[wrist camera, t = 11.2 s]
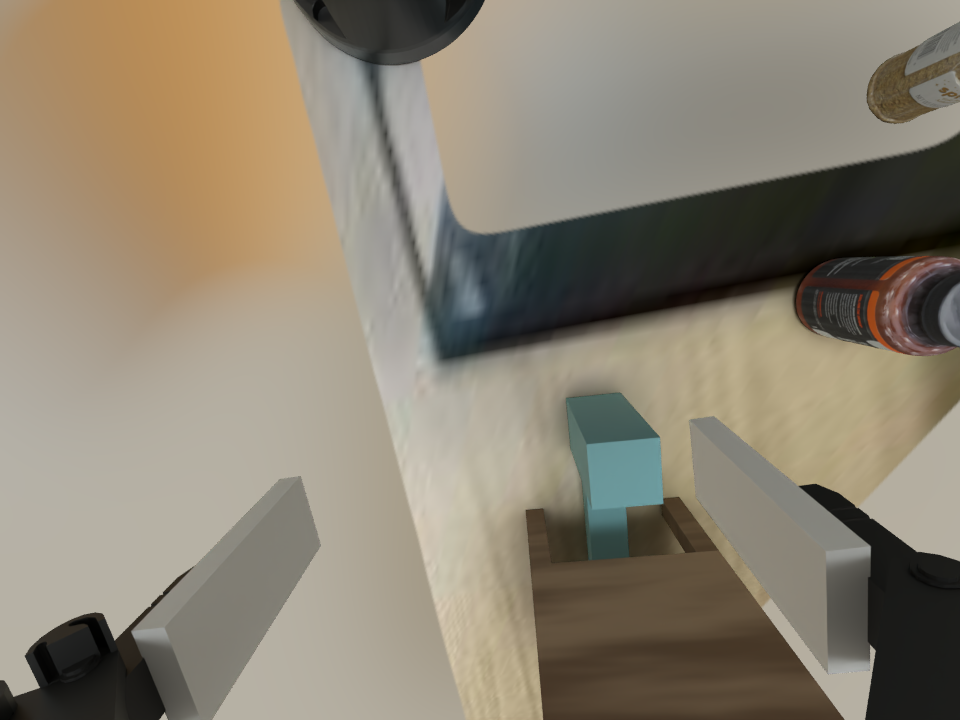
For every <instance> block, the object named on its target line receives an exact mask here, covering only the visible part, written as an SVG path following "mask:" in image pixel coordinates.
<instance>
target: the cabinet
mask: <svg viewBox="0 0 960 720" xmlns="http://www.w3.org/2000/svg"><path fill="white" fill-rule="evenodd" d="M661 506H662V516H663V517H664V519H665V521H666V522H667V524H668V525H669V527H670V529H671V530H672V532H673V533H674V535H675V537H676V538H677V540H678V542H679V543H680V545H681V546H682V548H683V550H684V551H685V553H680V554H666V555H653V556H640V557H627V558H613V559H600V560H587V561H574V562H560V563H551V557H550V550H549V544H548V537H547V531H546V524H545V518H544V511H543V509H535V510H526V519H527V531H528V543H529V555H530V567H531V578H532V590H533V602H534V614H535V626H536V638H537V650H538V662H539V673H540V685H541V697H542V709H543V720H844V718H843V717H842V716H841V715H840V713H839V712H838V710H837V709H836V708H835V706H834V705H833V704H832V702H831V701H830V700H829V698H828V697H827V696H826V694H825V693H824V691H823V690H822V689H821V687H820V686H819V685H818V683H817V682H816V681H815V680H814V678H813V677H812V676H811V674H810V673H809V671H808V670H807V669H806V667H805V666H804V665H803V663H802V662H801V661H800V659H799V658H798V657H797V655H796V654H795V652H794V651H793V650H792V649H791V647H790V646H789V644H788V643H787V642H786V640H785V639H784V638H783V636H782V635H781V634H780V633H779V631H778V630H777V628H776V627H775V626H774V624H773V623H772V622H771V620H770V619H769V617H768V616H767V615H766V613H765V612H764V611H763V609H762V608H761V607H760V605H759V604H758V603H757V601H756V600H755V599H754V597H753V596H752V595H751V593H750V592H749V591H748V589H747V588H746V587H745V585H744V584H743V582H742V581H741V580H740V578H739V577H738V576H737V574H736V573H735V572H734V570H733V569H732V568H731V566H730V565H729V564H728V562H727V561H726V560H725V558H724V557H723V556H722V554H721V553H720V552H719V550H718V549H717V547H716V546H715V545H714V543H713V542H712V541H711V539H710V538H709V537H708V535H707V534H706V533H705V531H704V530H703V529H702V527H701V526H700V525H699V523H698V522H697V521H696V519H695V518H694V517H693V515H692V514H691V512H690V511H689V510H688V508H687V507H686V506H685V504H684V503H683V502H682V500H681V499H680V498H679V497H677V498H665V499H663V504H661Z"/></svg>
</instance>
